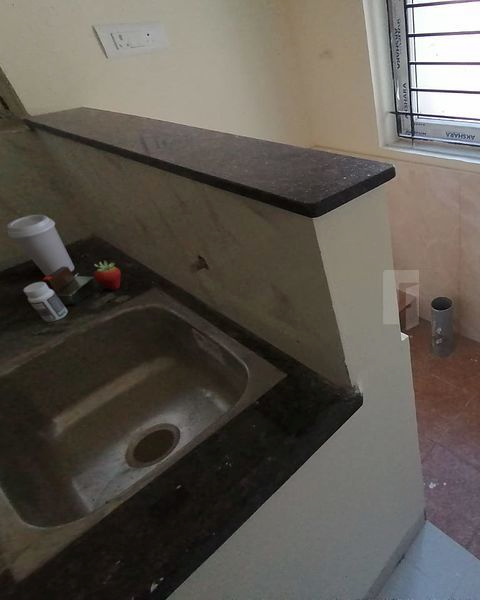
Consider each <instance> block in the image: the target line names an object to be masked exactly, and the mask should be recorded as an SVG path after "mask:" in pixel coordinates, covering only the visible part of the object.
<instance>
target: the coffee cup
mask: <svg viewBox="0 0 480 600" xmlns="http://www.w3.org/2000/svg"><path fill="white" fill-rule="evenodd" d="M55 225H56V222H55V221H54V220H53V219H52V218H50V217H48V216H47V215H45V214H30V215H26V216H23V217H19V218H16V219H14V220H12V221H10V222H9V223H8V224H7V235H8V237H10V238H13V240H14V241H15V242H16V243H17V244H18V245H19V247H20V248H21V249H22V250H23V251H24V253H26V254H27V256H28V257H29V258H30V259H31V261H33V263H34V264H35V265H36V266H37V268H38V269H39V270H40V271H41V272H42V273H43V274H44V276H45V277H46V276H47V277H48V276H49V275H51V274H52V273H53V272H55V271H56V270H58V269H59V268H61V267H68V268H69V269H70V271H71V272H73V271H74V270H75V265H74V263H73V261H72V259H71V257H70V255H69V253H68V251H67V249H66V247H65V245H64V243H63V240H62V239H61V237H60V235H59V233H58V231H57V228H56V227H55Z"/></svg>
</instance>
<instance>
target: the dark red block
mask: <svg viewBox="0 0 480 600" xmlns="http://www.w3.org/2000/svg"><path fill="white" fill-rule="evenodd" d="M72 272H73V271H72ZM72 272H71V271H70V269H69V268H68V267H61V268H59V269H58V270H56V271H55V272H53V273H52V274H51V275H49V276H48V277H47V276H46V275H45V277H43V278H42V282H44V283H46V285H47V286H48V287H49V289H52V290H53V291H54V292H58V291H59V290H60V289H62V288H63V287H64V286H66V285H67V284H68V283H70V282H71V281H72V280H74V279H75V277H74V276H75V275H74V274H73V273H72Z"/></svg>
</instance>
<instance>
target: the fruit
mask: <svg viewBox="0 0 480 600" xmlns="http://www.w3.org/2000/svg"><path fill="white" fill-rule="evenodd" d="M93 265H94V266H95V267H97V268H98V269H97V270H95V271H94V273H93V277H94V278H95V280H96V281H97V283H98V284H101V285H102V286H104V287H105V288H107V289H109V290H112V291H113V290H115V291H116V290H118V289H119V288H120V286H121V276H122V273H121V270H120V269H119V268H118V267H117V266H115V265H116V263H115V262H110V263H109V264H108V262H107V260H105V259H104V260H103V263H102V262H101V261H99V265H98V264H97V263H94V264H93Z"/></svg>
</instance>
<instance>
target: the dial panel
mask: <svg viewBox="0 0 480 600" xmlns="http://www.w3.org/2000/svg"><path fill="white" fill-rule="evenodd" d="M74 277H75V279H74V280H72V281H71V282H70V283H68V284H67V285H66V286H64V287H63V288H62V289H60V290H59V291H58V292H55V294H56V295H57V297H58V298H59V299H60V301H61V302H62V303H63V305H64V306H78V305H79V304H80V303H81V302H82V301H84V300H85V299H86V298H87V297H89V296H90V295H91V294H93V292H95V291H96V290H97V289H98V288H99V287H100V283H99V282H98V281H97V280H96V279H95V276H82V275H81V276H80V273H79V272H77V273H76V274H75V275H74Z"/></svg>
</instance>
